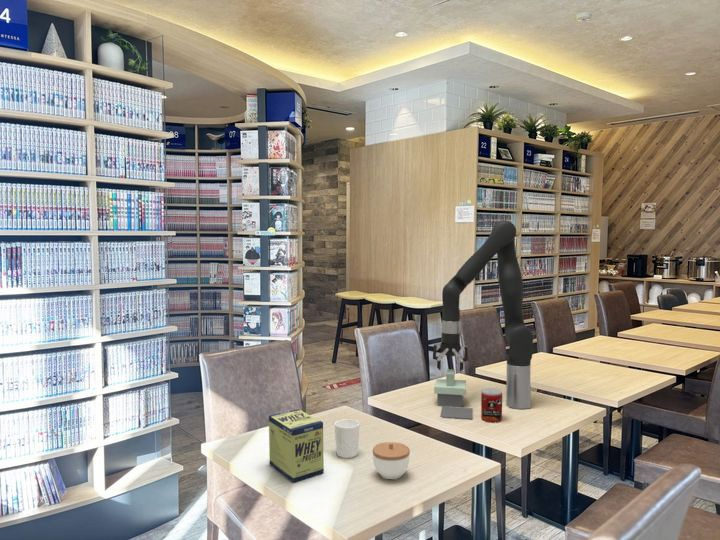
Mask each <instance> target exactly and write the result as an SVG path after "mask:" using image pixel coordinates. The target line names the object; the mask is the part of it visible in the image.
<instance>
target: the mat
mask: <svg viewBox="0 0 720 540" xmlns="http://www.w3.org/2000/svg"><path fill="white" fill-rule="evenodd" d="M440 411H441V412H440V416H439V418H440V417H442V418H441V419H452V418H454V420H467V419H468V421H473V418H474V417H473V412H474V411H473V407H450V406H441V410H440Z"/></svg>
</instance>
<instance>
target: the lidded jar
mask: <svg viewBox="0 0 720 540" xmlns="http://www.w3.org/2000/svg"><path fill="white" fill-rule="evenodd" d="M372 459H373V465H374V468H375V470H376V471H377V472H376V473H378V474H379V475H380V476H382V477H381V478H382V479H385V478H386V479H385V480H388V479H395V480H399V479H400V478H402V476H403V474H405V473H406V472H407V469H408V467H409V463H410V448H409V446H407V445H406V444H404V443H401V442H395V441H391V442H390V441H388V442H387V441H386V442H380V443H377V444H376V445H374V446H373V447H372ZM398 478H399V479H398Z"/></svg>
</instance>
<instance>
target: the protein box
mask: <svg viewBox="0 0 720 540" xmlns="http://www.w3.org/2000/svg"><path fill="white" fill-rule="evenodd" d="M268 438H269V439H268V446H269V447H268V448H269V449H268V450H269V453H268V454H269V465H270V466H271V467H272V468H273V469H275V470H276V471H278V473H279V474H281V475H282V476H283V477H285V478H287V479H288V480H289V481H290V482H291V483H292V484H294V483H297V482H301V481H303V480H306V478H307V479H310V478H312V477H316V475H317V476H320V475H323V474H324V469H325V466H324V461H325V459H324V422H323V421H322V420H319V418H316V417H314V416H312V415H310V414H308V413H307V412H304V411H303V410H301V409H299V408H297V409H293V410H287V411H285V412H283V411H282V412H279V413H275V414H274V413H273V414H270V415H268ZM322 473H323V474H322ZM319 474H320V475H319Z"/></svg>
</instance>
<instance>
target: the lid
mask: <svg viewBox="0 0 720 540" xmlns="http://www.w3.org/2000/svg"><path fill="white" fill-rule="evenodd" d="M455 375H456V374H455V369H452V368H447V369H446V375H445V378H436V379H435V383H434V386H433V394H454V395H463V396H466V391H467V380H465V379H455Z"/></svg>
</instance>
